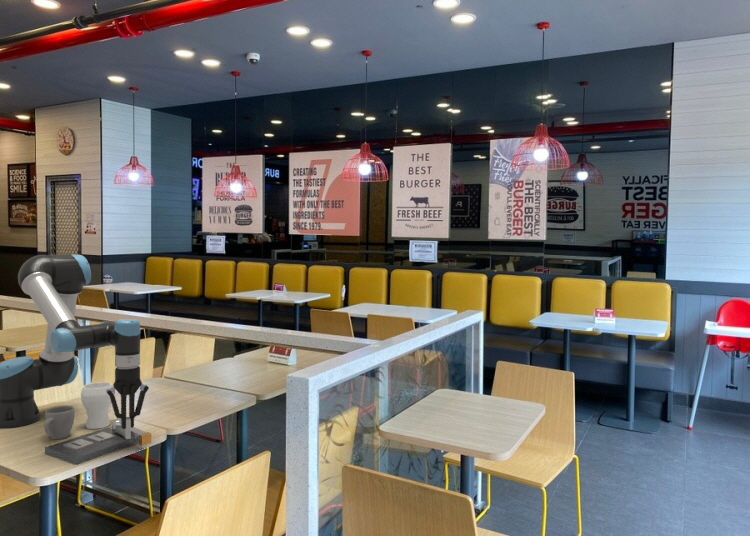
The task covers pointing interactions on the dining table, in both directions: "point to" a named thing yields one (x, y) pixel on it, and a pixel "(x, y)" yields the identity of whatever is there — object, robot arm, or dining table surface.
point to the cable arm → (132, 433)
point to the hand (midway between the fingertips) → (127, 437)
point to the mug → (59, 421)
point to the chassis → (88, 446)
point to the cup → (96, 404)
